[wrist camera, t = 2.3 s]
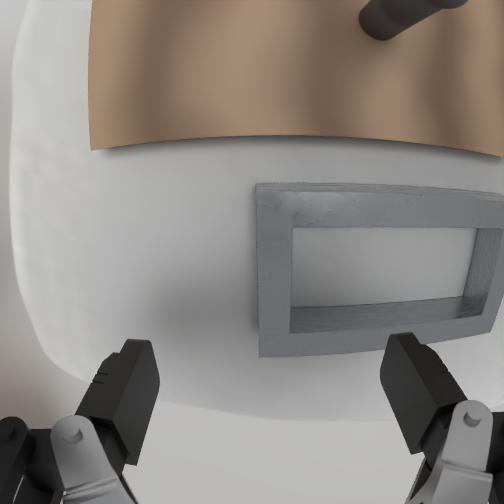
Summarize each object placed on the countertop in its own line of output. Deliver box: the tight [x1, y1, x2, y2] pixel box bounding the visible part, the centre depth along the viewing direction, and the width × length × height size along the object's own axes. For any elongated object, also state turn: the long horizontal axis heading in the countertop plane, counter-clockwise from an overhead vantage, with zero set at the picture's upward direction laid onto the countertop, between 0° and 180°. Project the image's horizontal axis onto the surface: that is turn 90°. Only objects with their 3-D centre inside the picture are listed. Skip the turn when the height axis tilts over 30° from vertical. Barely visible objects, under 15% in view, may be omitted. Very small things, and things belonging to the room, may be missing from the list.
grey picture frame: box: [256, 183, 504, 357], centre depth 16 cm, size 16×9×3 cm, turn 91°
